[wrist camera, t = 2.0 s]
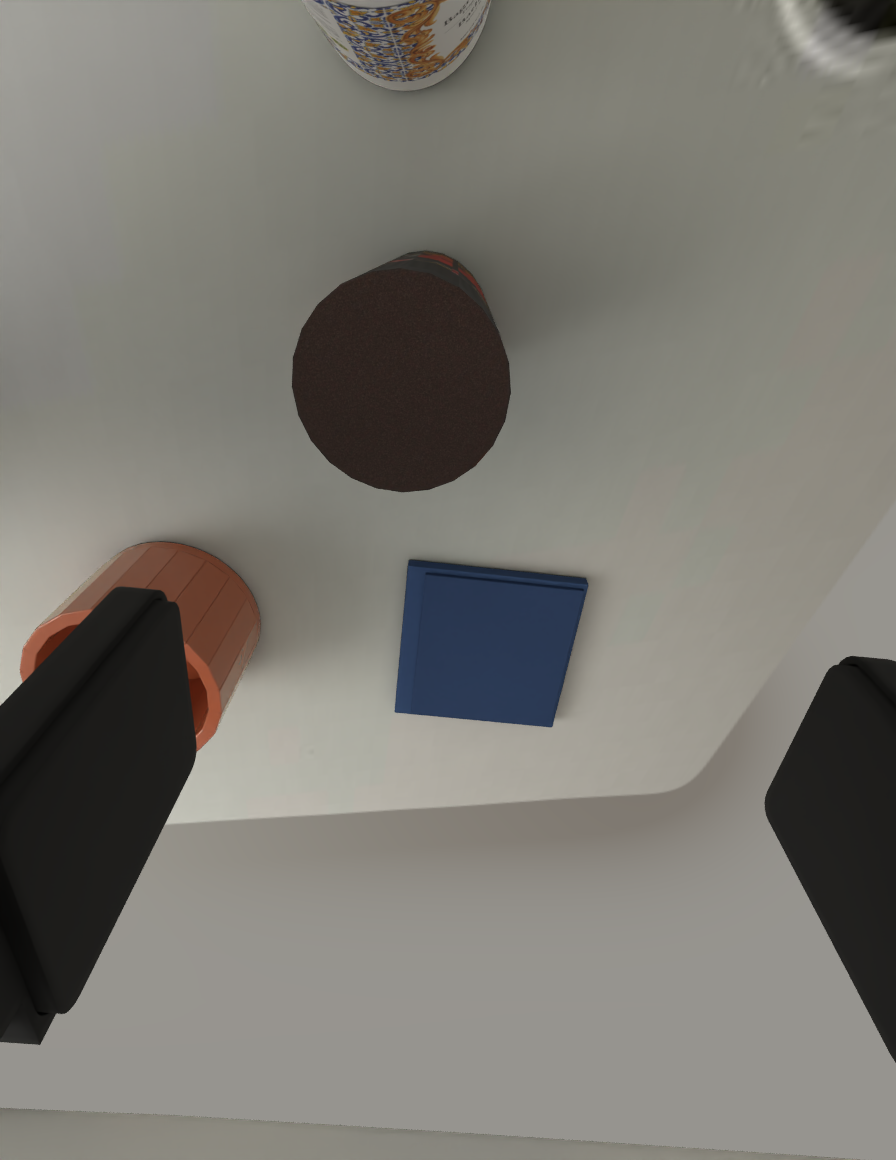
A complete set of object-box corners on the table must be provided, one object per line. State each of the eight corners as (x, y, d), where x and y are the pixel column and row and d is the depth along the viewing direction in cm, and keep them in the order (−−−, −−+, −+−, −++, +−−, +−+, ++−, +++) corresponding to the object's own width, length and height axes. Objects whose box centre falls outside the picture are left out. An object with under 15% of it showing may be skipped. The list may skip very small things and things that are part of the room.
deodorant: (484, 385, 32) (503, 494, 18) (366, 382, 32) (301, 489, 18) (491, 252, 29) (519, 271, 16) (361, 249, 29) (280, 264, 16)
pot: (109, 671, 41) (42, 755, 34) (82, 532, 36) (-2, 600, 29) (263, 686, 41) (226, 772, 35) (257, 551, 36) (214, 621, 30)
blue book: (395, 704, 42) (394, 715, 41) (408, 559, 36) (407, 568, 35) (550, 719, 42) (552, 730, 41) (586, 577, 37) (589, 587, 36)
